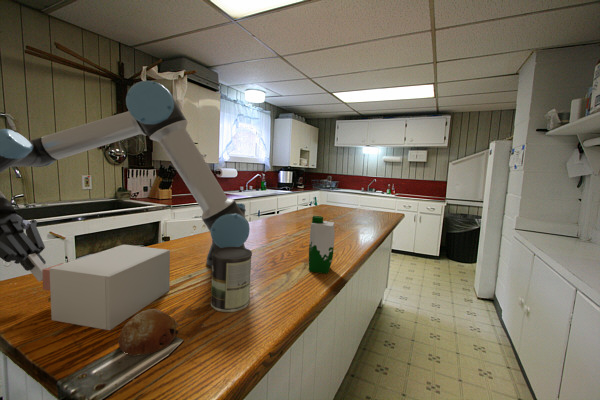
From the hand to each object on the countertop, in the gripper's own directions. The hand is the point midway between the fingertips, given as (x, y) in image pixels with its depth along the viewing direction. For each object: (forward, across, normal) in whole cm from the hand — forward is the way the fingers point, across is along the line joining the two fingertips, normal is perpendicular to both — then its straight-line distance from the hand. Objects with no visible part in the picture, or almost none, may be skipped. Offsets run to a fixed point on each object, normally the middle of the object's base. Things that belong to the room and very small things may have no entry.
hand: (45, 277), depth 67 cm
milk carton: (+51, -45, +41) cm, 79 cm away
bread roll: (+29, +6, +20) cm, 36 cm away
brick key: (+9, 0, +6) cm, 10 cm away
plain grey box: (+16, -4, +7) cm, 18 cm away
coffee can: (+36, -12, +26) cm, 46 cm away
